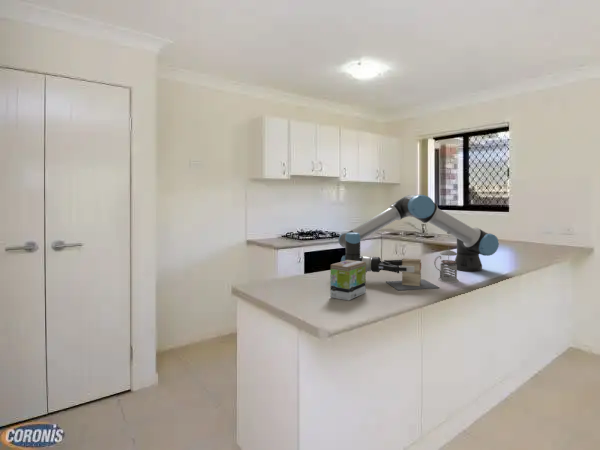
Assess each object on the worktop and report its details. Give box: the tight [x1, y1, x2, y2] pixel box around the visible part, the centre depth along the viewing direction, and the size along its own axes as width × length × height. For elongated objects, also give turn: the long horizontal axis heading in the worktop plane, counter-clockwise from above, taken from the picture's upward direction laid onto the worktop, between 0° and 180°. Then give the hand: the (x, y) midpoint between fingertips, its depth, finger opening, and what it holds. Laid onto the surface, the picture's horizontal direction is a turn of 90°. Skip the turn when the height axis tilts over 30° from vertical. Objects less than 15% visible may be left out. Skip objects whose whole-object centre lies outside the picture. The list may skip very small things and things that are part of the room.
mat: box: [385, 278, 440, 291], centre depth 176 cm, size 20×16×1 cm
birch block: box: [401, 257, 422, 286], centre depth 175 cm, size 5×8×12 cm, turn 66°
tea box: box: [329, 260, 367, 301], centre depth 161 cm, size 15×10×15 cm, turn 143°
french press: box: [433, 231, 460, 284], centre depth 183 cm, size 10×12×25 cm
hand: (415, 266), depth 174 cm, fingers open, 13 cm apart
